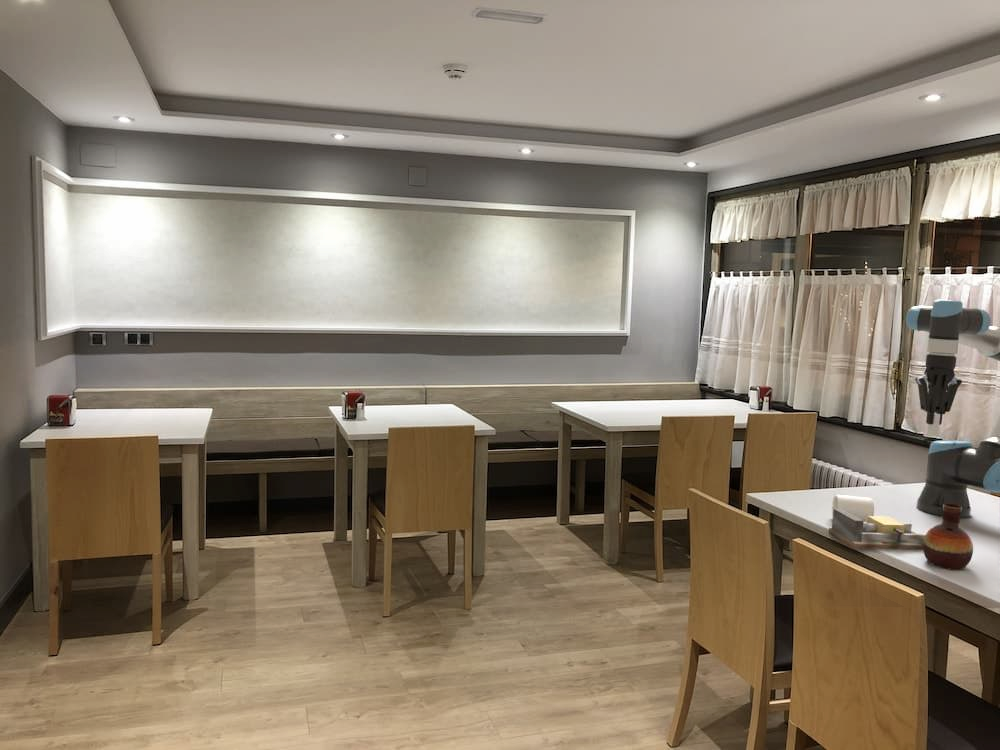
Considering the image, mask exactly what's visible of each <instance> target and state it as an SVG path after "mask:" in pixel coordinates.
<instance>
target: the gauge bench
mask: <svg viewBox="0 0 1000 750" xmlns="http://www.w3.org/2000/svg"><path fill="white" fill-rule="evenodd" d="M864 523H867V522H864V521H863V520H861V519H859V518H858V517H856V516H854V515H852V514H850V513H848V512H847V511H845V510H843V509H834V511H833V516H832V522H831V524H832V525H831V527H829V528H828V533H830V534H832V535H833V536H834V537H836V538H837V539H839V540H841V541H843V542H844V543H846V544H847V545H849V546H851V547H852V548H854V549H864V550H865V549H866V550H867V549H869V550H871V549H872V550H874V549H875V550H877V549H878V550H909V551H910V550H913V551H914V550H915V551H919V550H920V551H923V540H924V537H925V535H926V533H916V532H915V531H912V526H913V524H912V523H911V522H901V523H902V524H904V525H905V530H904V533H903V534H901V542H900V543H898V542H897V537H898V533H868V532H864V531H863V524H864Z"/></svg>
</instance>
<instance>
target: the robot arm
mask: <svg viewBox="0 0 1000 750" xmlns="http://www.w3.org/2000/svg"><path fill="white" fill-rule="evenodd" d="M991 322H992V318H991V315H990V313H989V312H988V311H986V310H984V309H981V308H976V307H975V308H974V307H973V308H971V307H970V308H969V307H968V308H967V307H964V306H963V302H962V300H961V301H960V300H954V299H953V300H949V299H948V300H947V299H936V300H934V301H933V302H932V306H925V305H916V306H912V307H911V308H909V309H908V311H907V312H906V317H905V323H906V325H907V327H908V328H909V329H910V330H912V331H917V332H921V331H922V332H927V333H929V335H928V339H927V340H928V341H927V352H928V353H927V354H925V355H926V357H925V370H924V372H923V374H922V375H921V376H918V377H915V380H914V381H915V382H916V384H917V389H918V396H919V405H920V406H919V407H920V410H922V411H924V412H925V413H926V419H925V420H926V421H925V422H926V424H927V430H926V431H927V432H926V435H927V436H931V437H938V435H939V430H940V425H942V422H943V415H946V413H949V412H950V411H951V408H952V406H953V403H954V400H955V397H956V395H957V392H958V390H959V389H958V388H959V387H960V386H961V385H962V383H963V380H962V379H959V378H957V377H956V374H955V369H956V365H957V356H956V355H957V354H958V349H959V344H960V345H964V346H967V347H970V348H973V349H976V350H977V352H979V354H981V355H982V356H986V357H988V358H991V359H994V360H996V361H999V362H1000V327H997V326H991ZM973 446H974V445H973V443H972V442H971V441H965V440H964V441H963V440H935V441H932V442H931V443H930V445H929V450H928V453H927V455H928V457H927V468H926V474H925V475H926V476H925V477H926V478H925V483H924V484H925V485H924V486H923V488H922V491H921V492H920V495H919V496H918V498H917V502H916V508H917V509H918V510H920V511H923V512H925V513H928V514H933V515H938V516H942V517H943V504H955V505H959V506H961V507H962V510H961V515H960V518H968V517H970V516H971V513H972V512H971V511H972V510H971V509H972V508H971V504H970V499H969V495H968V486H970V487H974V488H978V489H982V490H986V491H988V492H991V493H999V494H1000V414H999V415H998V417H997V420H996V422H995V424H994V427H993V428H992V430H991V432H990V434H989V436H988V437H987V438H986V439H983V440H981V441H980V442H979V445H978V446H977V447H976V448H974V447H973Z"/></svg>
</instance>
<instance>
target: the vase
mask: <svg viewBox="0 0 1000 750" xmlns="http://www.w3.org/2000/svg"><path fill="white" fill-rule="evenodd" d="M961 510H962V507H961V506H959V505H955V504H943V516H942V521H941V523H939V524H937V525H934V526H932V527H931V528H929V529H928V530H927V532H926V533H925V534H926V535H925V537H924V540H923V550H922V551H923V554H924V556H925V559H926V560H927V561H928V562H929V564H931V565H933V566H935V567H938V568H942V569H947V570H953V571H954V570H957V571H958V570H963V569H964V568H965V567H967V566H968V565H969V563H970V562H971V560H972V557H973V553H974V544H973V540H972V539H971V537H970V535H969V534H968V533H967V532H966V531H965V530H964V529H963V528H962V527H960V520H961V517H960V515H961Z"/></svg>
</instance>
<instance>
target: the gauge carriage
mask: <svg viewBox="0 0 1000 750" xmlns="http://www.w3.org/2000/svg"><path fill="white" fill-rule="evenodd" d="M902 523H903V522H900V521H897V520H896V519H893V518H892V517H890V516H885V515H883V516H882V515H879V516H878V515H874V516H868V518H867V523H864V524H863V531H864V532H868V533H898V537H897V542H898V543H900V542H901V534H903V533H904V530H905V525H904V524H902Z"/></svg>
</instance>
